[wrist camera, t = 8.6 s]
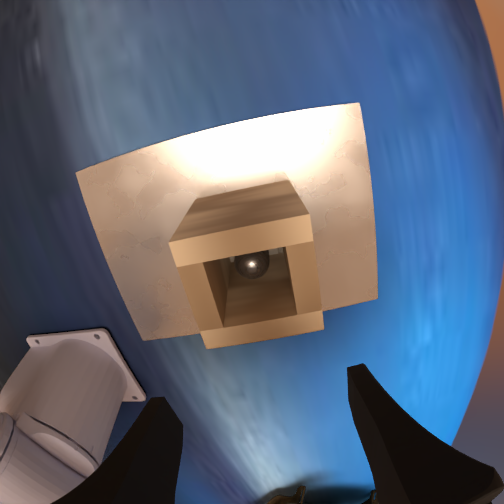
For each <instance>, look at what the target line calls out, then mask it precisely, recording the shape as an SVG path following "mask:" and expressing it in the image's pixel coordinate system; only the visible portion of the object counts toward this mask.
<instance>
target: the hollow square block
mask: <svg viewBox="0 0 504 504" xmlns="http://www.w3.org/2000/svg"><path fill="white" fill-rule="evenodd" d="M168 243H169V246H170V249H171V252H172V255H173V258H174V261H175V264H176V267H177V270H178V273H179V276H180V278H181V281H182V284H183V287H184V290H185V293H186V295H187V298H188V301H189V304H190V307H191V309H192V312H193V315H194V317H195V320H196V323H197V325H198V328H199V331H200V333H201V336H202V338H203V341H204V344H205V346H206V349H212V348H219V347H226V346H233V345H240V344H246V343H253V342H259V341H265V340H271V339H276V338H282V337H288V336H293V335H298V334H303V333H309V332H314V331H318V330H323V329H324V323H323V314H322V304H321V295H320V287H319V278H318V270H317V262H316V255H315V247H314V240H313V233H312V226H311V219H310V214H309V212H308V210H307V209H306V207H305V205H304V204H303V202H302V200H301V199H300V197H299V195H298V194H297V192H296V190H295V189H294V187H293V185H292V184H291V182H290V181H289V180H285V181H279V182H274V183H269V184H264V185H259V186H254V187H249V188H244V189H239V190H234V191H230V192H225V193H221V194H216V195H211V196H207V197H203V198H198V199H195V201H194V202H193V204H192V205H191V207H190V208H189V210H188V212H187V213H186V215H185V216H184V218H183V220H182V221H181V223H180V224H179V226H178V228H177V229H176V231H175V233H174V234H173V236H172V237H171V239H170V241H169V242H168ZM279 247H282V248H283V253H278V254H273V255H269V258H270V264H269V268H268V270H267V272H266V273H265V274H264V275H263V276H262V277H260V278H257V279H247V278H244V277H242V276H241V275H240V274H239V273H238V272H237V271H236V269H235V266H234V262H231V261H230V257H233V256H238V255H243V254H248V253H254V252H259V251H264V250H269V249H274V248H279Z"/></svg>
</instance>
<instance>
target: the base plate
mask: <svg viewBox="0 0 504 504" xmlns="http://www.w3.org/2000/svg"><path fill="white" fill-rule="evenodd" d="M76 176H77V179H78V182H79V185H80V189H81V192H82V195H83V198H84V201H85V204H86V207H87V210H88V213H89V216H90V219H91V221H92V224H93V227H94V230H95V232H96V235H97V238H98V240H99V243H100V246H101V248H102V251H103V253H104V256H105V258H106V261H107V263H108V266H109V268H110V270H111V273H112V275H113V278H114V280H115V282H116V284H117V287H118V289H119V291H120V294H121V296H122V298H123V300H124V302H125V305H126V307H127V309H128V311H129V313H130V315H131V317H132V319H133V321H134V323H135V326H136V328H137V330H138V332H139V334H140V336H141V338H142V340H143V341H145V340H154V339H162V338H170V337H178V336H185V335H192V334H199V333H200V331H199V328H198V325H197V323H196V320H195V317H194V315H193V312H192V309H191V307H190V304H189V301H188V298H187V295H186V293H185V290H184V287H183V284H182V281H181V278H180V276H179V273H178V270H177V267H176V264H175V261H174V258H173V255H172V252H171V249H170V246H169V243H168V242H169V241H170V239H171V237H172V236H173V234H174V233H175V231H176V229H177V228H178V226H179V224H180V223H181V221H182V220H183V218H184V216H185V215H186V213H187V212H188V210H189V208H190V207H191V205H192V204H193V202H194V201H195V199H198V198H203V197H207V196H211V195H216V194H221V193H225V192H230V191H234V190H239V189H244V188H249V187H254V186H259V185H264V184H269V183H274V182H279V181H285V180H289V181H290V182H291V184H292V185H293V187H294V189H295V190H296V192H297V194H298V195H299V197H300V199H301V200H302V202H303V204H304V205H305V207H306V209H307V210H308V212H309V214H310V219H311V226H312V233H313V240H314V247H315V255H316V262H317V270H318V278H319V287H320V295H321V304H322V311H326V310H331V309H336V308H340V307H344V306H349V305H353V304H357V303H362V302H366V301H370V300H374V299H378V279H377V250H376V232H375V218H374V206H373V195H372V185H371V176H370V168H369V160H368V153H367V146H366V139H365V132H364V126H363V120H362V115H361V109H360V104H359V103H352V104H343V105H335V106H327V107H320V108H313V109H306V110H300V111H294V112H288V113H282V114H276V115H271V116H266V117H261V118H256V119H251V120H246V121H242V122H237V123H233V124H228V125H224V126H220V127H216V128H212V129H208V130H204V131H200V132H196V133H193V134H189V135H185V136H182V137H178V138H175V139H171V140H168V141H164V142H161V143H158V144H154V145H151V146H148V147H145V148H142V149H139V150H136V151H133V152H130V153H127V154H124V155H121V156H118V157H115V158H112V159H110V160H107V161H104V162H102V163H99V164H96V165H94V166H91V167H88V168H86V169H83V170H81V171H78V172H76ZM278 253H283V248H282V247H279V248H274V249H269V250H264V251H259V252H254V253H248V254H243V255H238V256H233V257H230V261H231V262H234V266H235V269H236V271H237V272H238V273H239V274H240V275H241V276H242V277H244V278H247V279H257V278H260V277H262V276H263V275H264V274H265V273H266V272H267V270H268V268H269V264H270V258H269V255H273V254H278Z"/></svg>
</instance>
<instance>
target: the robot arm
mask: <svg viewBox="0 0 504 504" xmlns="http://www.w3.org/2000/svg"><path fill="white" fill-rule="evenodd" d="M98 335H99V336H98ZM27 342H28V344H29V346H30V347H31V348H30V349H29V351H28V352H27V353H26V355H25V356H24V358H23V359H22V360H21V362H20V363H19V365H18V366H17V368H16V369H15V370H14V372H13V373H12V375H11V376H10V378H9V379H8V381H7V382H6V384H5V385H4V387H3V389H2V391H1V394H0V504H175V490H176V484H177V478H178V472H179V466H180V459H181V453H182V447H183V424H182V423H181V421H180V420H179V418H178V417H177V415H176V414H175V412H174V411H173V409H172V408H171V406H170V405H169V403H168V402H167V400H166V399H165V397H155V398H151V399H150V400H149V402H148V403H147V404H146V406H145V407H144V409H143V410H142V412H141V413H140V415H139V416H138V418H137V419H136V420H135V422H134V423H133V425H132V426H131V428H130V429H129V430H128V432H127V433H126V435H125V436H124V438H123V439H122V440H121V441H120V443H119V444H118V445H117V447H116V448H115V449H114V450H113V452H112V453H111V454H110V455H109V456H108V458H107V459H106V460H105V461H104V462H103V463H102V464H101V461H102V458H103V455H104V452H105V449H106V446H107V443H108V440H109V437H110V434H111V431H112V428H113V425H114V423H115V420H116V417H117V414H118V411H119V408H120V406H121V403H122V401H144V400H145V399H146V394H145V393H144V391H143V390H142V388H141V387H140V385H139V383H138V382H137V380H136V379H135V377H134V375H133V374H132V372H131V370H130V369H129V367H128V366H127V364H126V362H125V360H124V359H123V357H122V355H121V354H120V352H119V350H118V348H117V347H116V345H115V343H114V341H113V339H112V338H111V336H110V334H109V332H108V331H107V330H106V329H103V328H99V329H90V330H81V331H72V332H62V333H52V334H41V335H30V336H28V337H27ZM347 377H348V400H349V404H350V408H351V412H352V416H353V420H354V424H355V426H356V429H357V432H358V435H359V437H360V440H361V443H362V446H363V448H364V451H365V454H366V457H367V459H368V462H369V465H370V468H371V471H372V475H373V479H374V484H375V488H376V493H377V498H378V503H379V504H492V502H491V501H492V500H493V499H494V498H495V497H496V496H498V494H500V493H501V492H502V491H503V489H504V484H503V481H502V479H501V477H500V476H499V474H498V473H497V471H496V470H495V468H494V467H491V466H489V465H486V464H484V463H481V462H479V461H477V460H475V459H473V458H471V457H469V456H467V455H465V454H463V453H461V452H459V451H458V450H456V449H454V448H453V447H451V446H449V445H448V444H446V443H445V442H443V441H441V440H440V439H438V438H437V437H436V436H434V435H433V434H432V433H430V432H429V431H428V430H426V429H425V428H424V427H422V426H421V425H420V424H419V423H418V422H416V421H415V420H414V419H413V418H412V417H411V416H410V415H409V414H408V413H407V412H405V411H404V410H403V409H402V408H401V407H400V406H399V405H398V404H397V403H396V402H395V400H394V399H393V398H392V397H391V396H390V395H389V394H388V393H387V392H386V391H385V390H384V388H383V387H382V386H381V385H380V384H379V382H378V381H377V380H376V379H375V378H374V376H373V375H372V374H371V372H370V371H369V370H368V368H367V367H366V365H365V364H363V363H362V364H359V365H355V366H351V367H347Z"/></svg>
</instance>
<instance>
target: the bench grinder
mask: <svg viewBox="0 0 504 504" xmlns="http://www.w3.org/2000/svg"><path fill="white" fill-rule="evenodd" d="M305 489H306V486H300V487H298V488H297V491H296V494H295V495H294V496H290V497H288V496H281V495H277V496H274V497H273V498H272V499H271V500H270V501H269V502H268V503H267V504H303V499H304V494H305ZM302 490H303V493H302V497H301V502H300V503H299V501H300V496H301V492H302ZM375 492H376V490H372V491H371V495H370V498H369V499H368V500H366V501H365V502H363V503H361V504H379V503H378V498H377V493H376V497H375V500H373V499H374V493H375Z"/></svg>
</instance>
